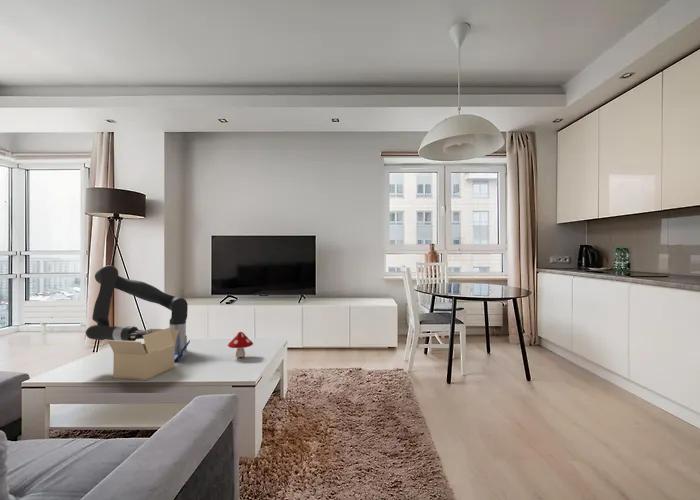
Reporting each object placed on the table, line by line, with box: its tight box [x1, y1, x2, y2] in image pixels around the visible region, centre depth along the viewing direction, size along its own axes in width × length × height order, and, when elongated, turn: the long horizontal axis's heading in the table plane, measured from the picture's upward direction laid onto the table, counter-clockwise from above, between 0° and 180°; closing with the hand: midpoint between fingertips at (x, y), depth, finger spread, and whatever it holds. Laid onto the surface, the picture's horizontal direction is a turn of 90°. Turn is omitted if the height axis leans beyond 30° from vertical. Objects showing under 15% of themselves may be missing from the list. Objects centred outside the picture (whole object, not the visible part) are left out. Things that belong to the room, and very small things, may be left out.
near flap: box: [143, 327, 174, 353], centre depth 181 cm, size 19×9×1 cm
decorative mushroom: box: [227, 331, 254, 358], centre depth 210 cm, size 14×14×15 cm
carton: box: [107, 328, 179, 381], centre depth 182 cm, size 28×19×19 cm, turn 170°
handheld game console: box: [174, 340, 191, 364], centre depth 206 cm, size 16×13×9 cm
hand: (155, 335), depth 182 cm, fingers closed
